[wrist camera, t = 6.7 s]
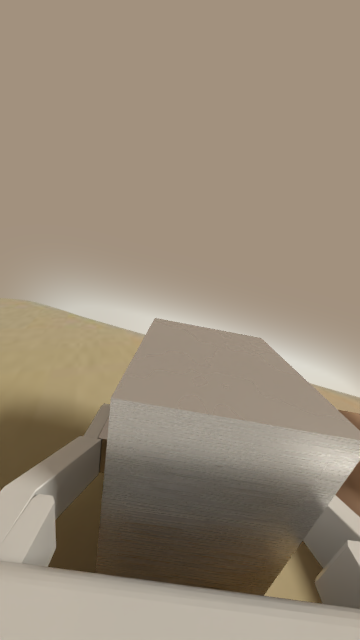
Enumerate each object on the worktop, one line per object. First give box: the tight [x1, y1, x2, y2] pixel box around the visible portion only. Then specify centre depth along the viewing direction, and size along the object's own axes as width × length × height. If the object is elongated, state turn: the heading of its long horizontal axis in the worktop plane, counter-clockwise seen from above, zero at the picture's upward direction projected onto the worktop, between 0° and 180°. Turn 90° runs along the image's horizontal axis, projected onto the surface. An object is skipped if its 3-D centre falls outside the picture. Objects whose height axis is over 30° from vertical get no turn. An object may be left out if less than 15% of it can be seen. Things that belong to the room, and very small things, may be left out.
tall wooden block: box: [96, 318, 360, 596], centre depth 8 cm, size 5×5×10 cm
